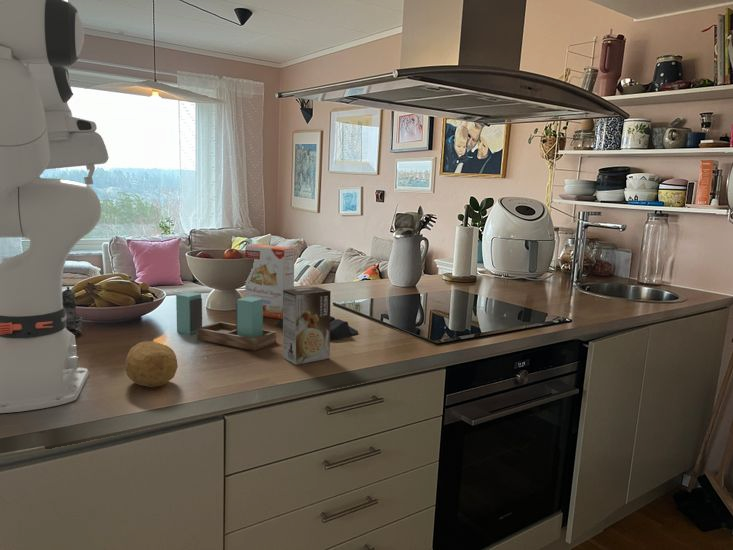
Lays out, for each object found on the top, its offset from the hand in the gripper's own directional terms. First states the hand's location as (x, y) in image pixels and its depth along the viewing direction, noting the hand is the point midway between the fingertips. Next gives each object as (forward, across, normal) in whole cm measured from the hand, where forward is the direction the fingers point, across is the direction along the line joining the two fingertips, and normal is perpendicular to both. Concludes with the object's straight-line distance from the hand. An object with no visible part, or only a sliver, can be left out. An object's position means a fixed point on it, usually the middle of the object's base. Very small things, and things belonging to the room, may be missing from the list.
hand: (68, 186), depth 131 cm
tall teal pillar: (+41, +20, -4) cm, 46 cm away
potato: (+42, -1, -37) cm, 56 cm away
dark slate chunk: (+48, +48, -19) cm, 71 cm away
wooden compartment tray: (+44, +26, -18) cm, 54 cm away
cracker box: (+44, +46, +2) cm, 64 cm away
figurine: (+36, -6, +10) cm, 37 cm away
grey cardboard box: (+48, +33, -39) cm, 70 cm away
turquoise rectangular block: (+43, +28, -21) cm, 56 cm away
